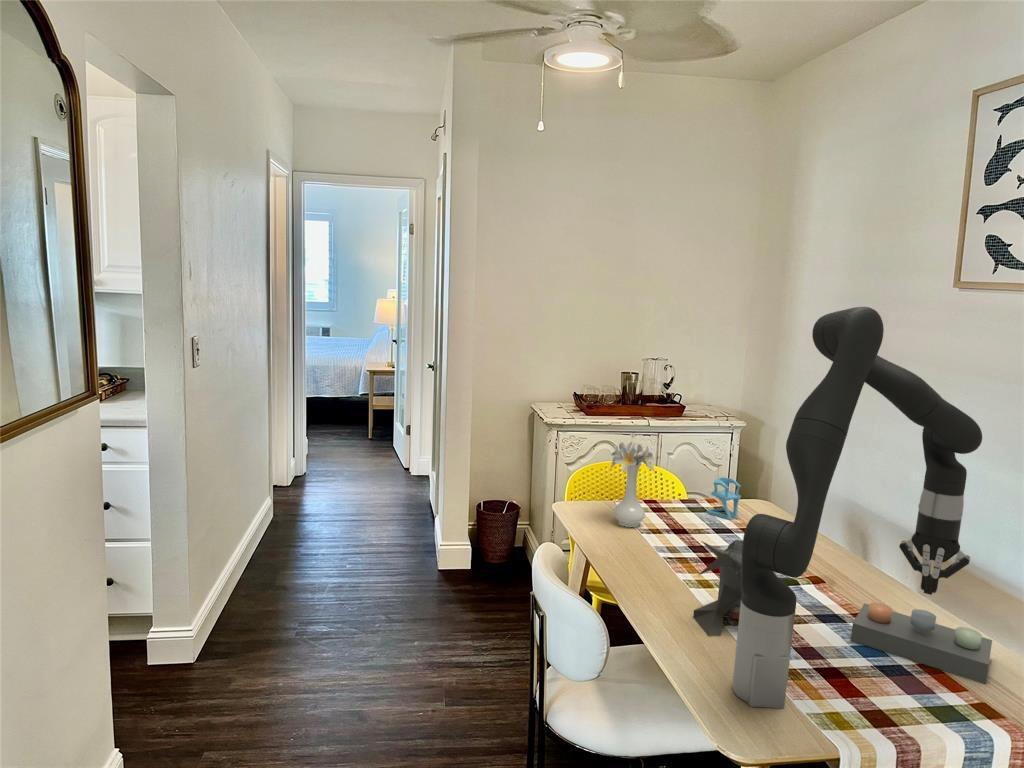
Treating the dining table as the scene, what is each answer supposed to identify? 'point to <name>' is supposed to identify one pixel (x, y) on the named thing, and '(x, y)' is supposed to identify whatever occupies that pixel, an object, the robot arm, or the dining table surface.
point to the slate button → (923, 619)
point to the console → (922, 644)
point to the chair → (725, 498)
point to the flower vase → (631, 482)
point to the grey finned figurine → (723, 589)
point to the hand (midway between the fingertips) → (928, 592)
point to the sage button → (967, 638)
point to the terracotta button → (879, 612)
